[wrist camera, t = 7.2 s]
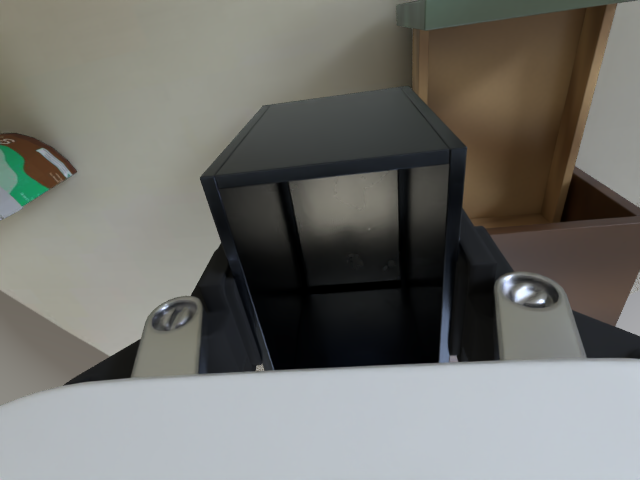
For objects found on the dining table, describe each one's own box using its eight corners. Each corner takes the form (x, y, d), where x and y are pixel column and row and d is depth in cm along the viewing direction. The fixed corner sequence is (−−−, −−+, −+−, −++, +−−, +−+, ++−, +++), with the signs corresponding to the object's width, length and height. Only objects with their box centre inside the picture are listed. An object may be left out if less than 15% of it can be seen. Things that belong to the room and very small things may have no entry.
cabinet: (395, 174, 31) (416, 240, 22) (563, 157, 29) (661, 221, 20) (397, 316, 39) (414, 404, 30) (526, 309, 38) (583, 399, 29)
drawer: (394, -89, 21) (428, -156, 13) (636, -134, 20) (850, -242, 11) (399, 223, 32) (418, 295, 24) (552, 211, 31) (628, 282, 23)
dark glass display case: (262, 105, 12) (198, 177, 7) (409, 85, 12) (468, 146, 6) (300, 283, 16) (280, 417, 11) (409, 275, 16) (445, 412, 10)
